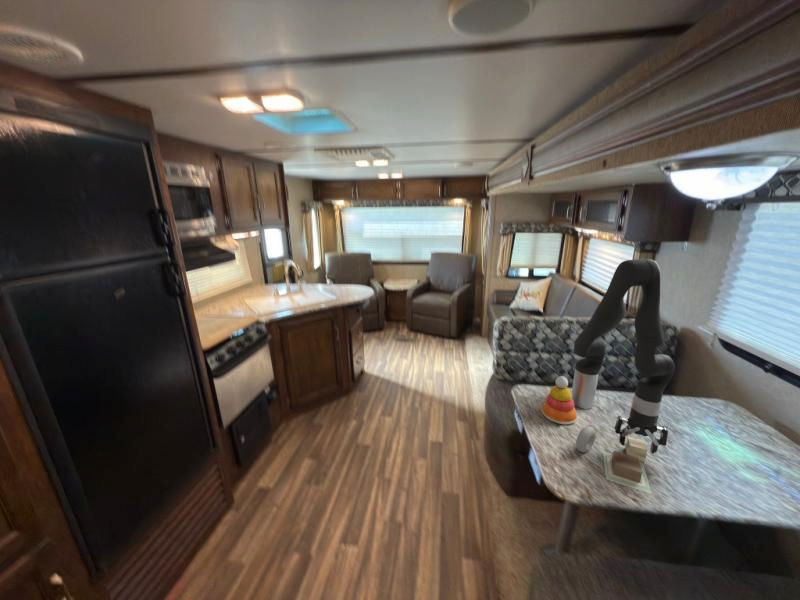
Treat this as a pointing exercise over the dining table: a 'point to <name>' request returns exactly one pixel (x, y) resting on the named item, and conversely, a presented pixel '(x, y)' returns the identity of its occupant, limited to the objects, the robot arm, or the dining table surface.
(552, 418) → the stacking toy
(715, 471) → the dining table surface
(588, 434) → the donut
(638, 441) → the maple block
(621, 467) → the walnut block
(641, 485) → the build board
